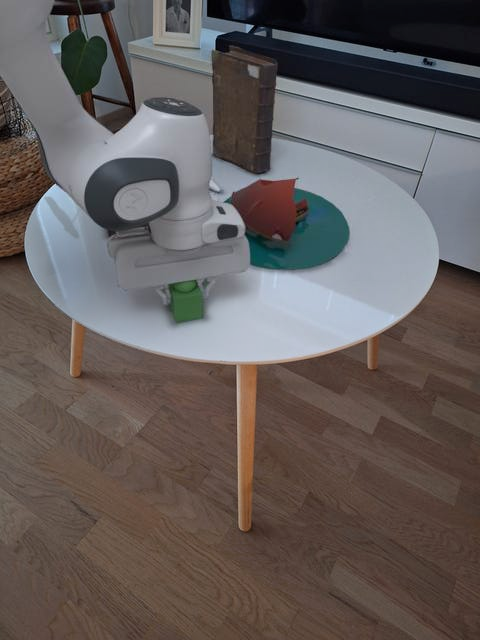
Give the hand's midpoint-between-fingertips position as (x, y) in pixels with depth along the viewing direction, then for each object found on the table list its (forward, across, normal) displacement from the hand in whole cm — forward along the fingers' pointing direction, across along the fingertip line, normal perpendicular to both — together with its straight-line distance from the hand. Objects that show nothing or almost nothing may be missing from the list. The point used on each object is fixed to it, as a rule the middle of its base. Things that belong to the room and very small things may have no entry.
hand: (185, 298), depth 74 cm
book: (+3, +26, +53) cm, 59 cm away
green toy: (+3, 0, 0) cm, 3 cm away
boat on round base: (+3, +24, +20) cm, 31 cm away
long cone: (+3, +11, +47) cm, 48 cm away
